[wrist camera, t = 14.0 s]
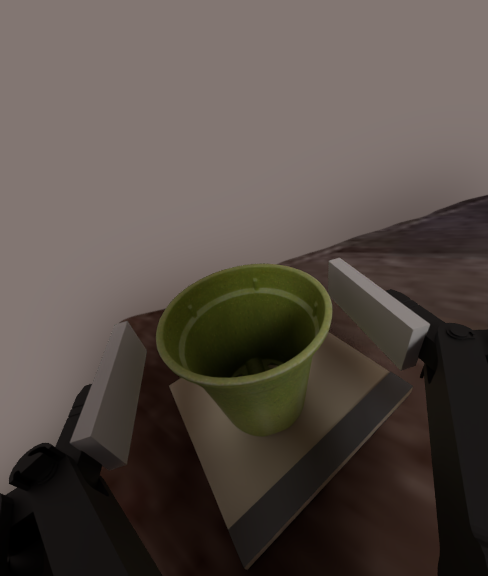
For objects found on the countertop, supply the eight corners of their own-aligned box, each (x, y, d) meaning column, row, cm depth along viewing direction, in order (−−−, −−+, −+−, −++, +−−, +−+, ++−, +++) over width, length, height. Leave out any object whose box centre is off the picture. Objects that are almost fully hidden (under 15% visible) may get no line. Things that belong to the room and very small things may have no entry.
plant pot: (240, 334, 23) (218, 257, 18) (342, 362, 18) (347, 268, 13) (178, 426, 17) (118, 347, 12) (308, 504, 12) (295, 426, 7)
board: (291, 313, 25) (291, 306, 25) (410, 393, 16) (413, 386, 16) (172, 390, 20) (168, 385, 20) (247, 570, 11) (243, 567, 11)
